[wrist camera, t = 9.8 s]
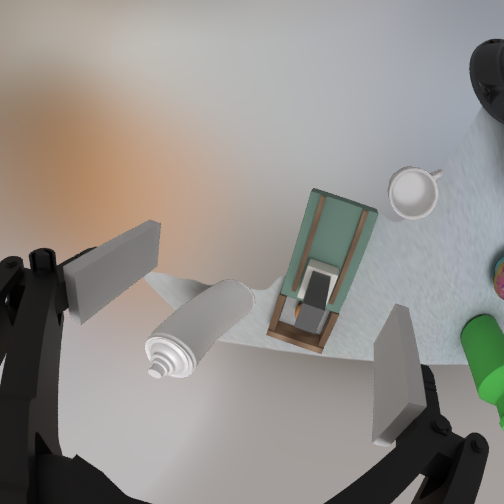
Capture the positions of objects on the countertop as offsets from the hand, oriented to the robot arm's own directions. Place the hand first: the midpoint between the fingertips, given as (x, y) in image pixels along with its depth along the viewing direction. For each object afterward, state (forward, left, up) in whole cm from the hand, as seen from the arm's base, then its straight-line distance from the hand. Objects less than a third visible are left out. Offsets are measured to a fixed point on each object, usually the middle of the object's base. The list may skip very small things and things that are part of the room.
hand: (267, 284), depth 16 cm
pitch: (-4, +12, -37) cm, 39 cm away
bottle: (-40, +17, -37) cm, 57 cm away
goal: (-4, +25, -37) cm, 45 cm away
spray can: (+12, +28, -37) cm, 48 cm away
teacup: (-14, -4, -37) cm, 40 cm away
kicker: (-4, +16, -34) cm, 37 cm away
